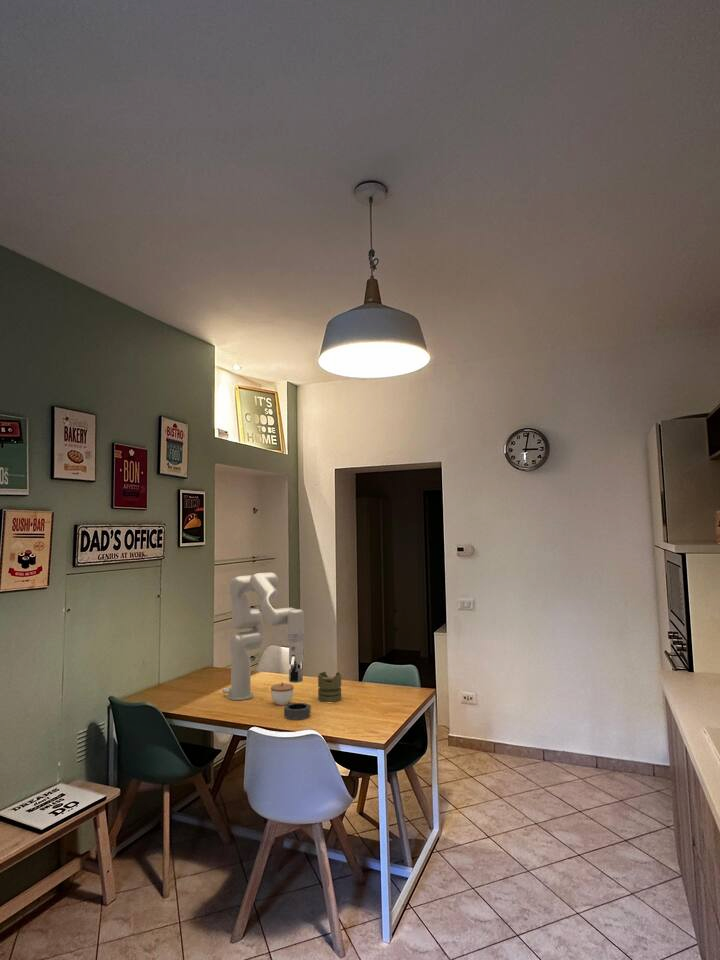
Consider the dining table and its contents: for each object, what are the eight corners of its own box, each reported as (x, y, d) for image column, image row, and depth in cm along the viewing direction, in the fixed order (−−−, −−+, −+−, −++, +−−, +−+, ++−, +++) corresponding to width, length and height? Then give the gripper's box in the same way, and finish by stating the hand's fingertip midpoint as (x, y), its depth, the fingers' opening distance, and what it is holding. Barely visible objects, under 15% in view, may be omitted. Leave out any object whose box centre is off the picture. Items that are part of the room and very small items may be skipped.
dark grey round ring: (282, 719, 238) (282, 710, 238) (287, 711, 249) (287, 702, 249) (307, 720, 237) (307, 710, 237) (311, 712, 248) (311, 703, 248)
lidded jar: (296, 700, 267) (296, 680, 268) (289, 707, 256) (289, 686, 257) (275, 699, 269) (275, 679, 270) (267, 706, 258) (267, 685, 259)
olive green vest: (320, 671, 275) (342, 671, 274) (320, 696, 274) (342, 696, 273) (316, 676, 264) (339, 677, 263) (316, 702, 263) (339, 703, 262)
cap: (287, 682, 242) (287, 670, 242) (290, 679, 248) (290, 667, 248) (301, 682, 241) (301, 670, 242) (303, 679, 247) (303, 667, 248)
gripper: (300, 640, 238) (300, 684, 236) (307, 634, 255) (307, 674, 253) (283, 640, 238) (283, 683, 236) (291, 634, 255) (291, 674, 253)
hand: (295, 678), depth 244 cm, fingers closed on cap, 5 cm apart
